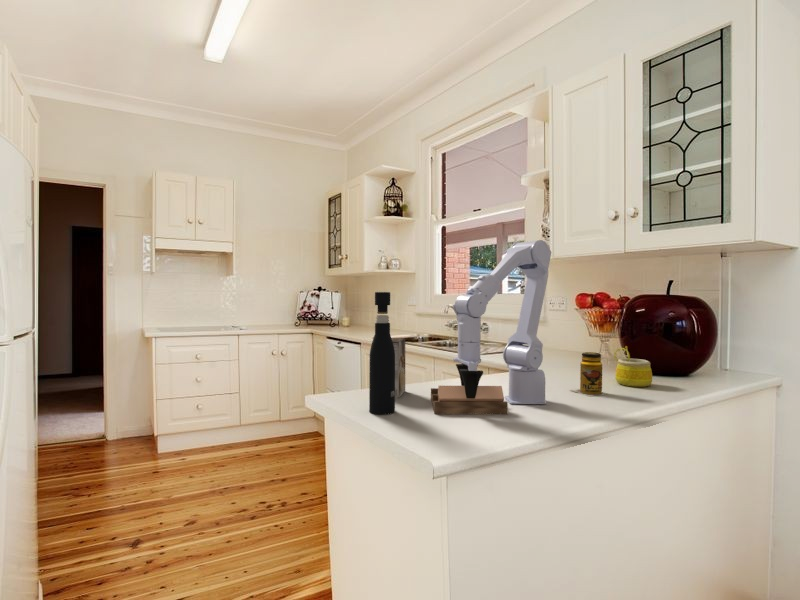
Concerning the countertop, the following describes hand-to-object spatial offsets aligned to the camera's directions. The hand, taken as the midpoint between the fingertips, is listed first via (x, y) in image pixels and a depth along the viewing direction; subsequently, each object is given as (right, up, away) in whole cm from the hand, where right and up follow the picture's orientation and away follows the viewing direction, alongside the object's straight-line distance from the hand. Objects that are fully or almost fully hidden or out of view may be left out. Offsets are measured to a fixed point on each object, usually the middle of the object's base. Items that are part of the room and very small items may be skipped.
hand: (468, 394), depth 123 cm
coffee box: (-20, -4, +18) cm, 27 cm away
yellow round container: (+58, -4, +34) cm, 68 cm away
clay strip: (0, -1, 0) cm, 1 cm away
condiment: (+39, -4, +22) cm, 45 cm away
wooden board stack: (0, -4, +4) cm, 5 cm away
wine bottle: (-22, -4, -2) cm, 22 cm away
